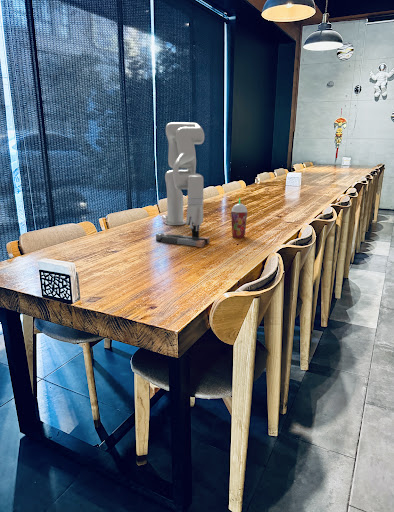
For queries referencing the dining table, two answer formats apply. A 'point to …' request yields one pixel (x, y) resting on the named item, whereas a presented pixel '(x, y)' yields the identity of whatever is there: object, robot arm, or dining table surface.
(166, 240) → the bar
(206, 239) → the tongs moving jaw
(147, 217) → the dining table surface
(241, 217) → the smoothie
